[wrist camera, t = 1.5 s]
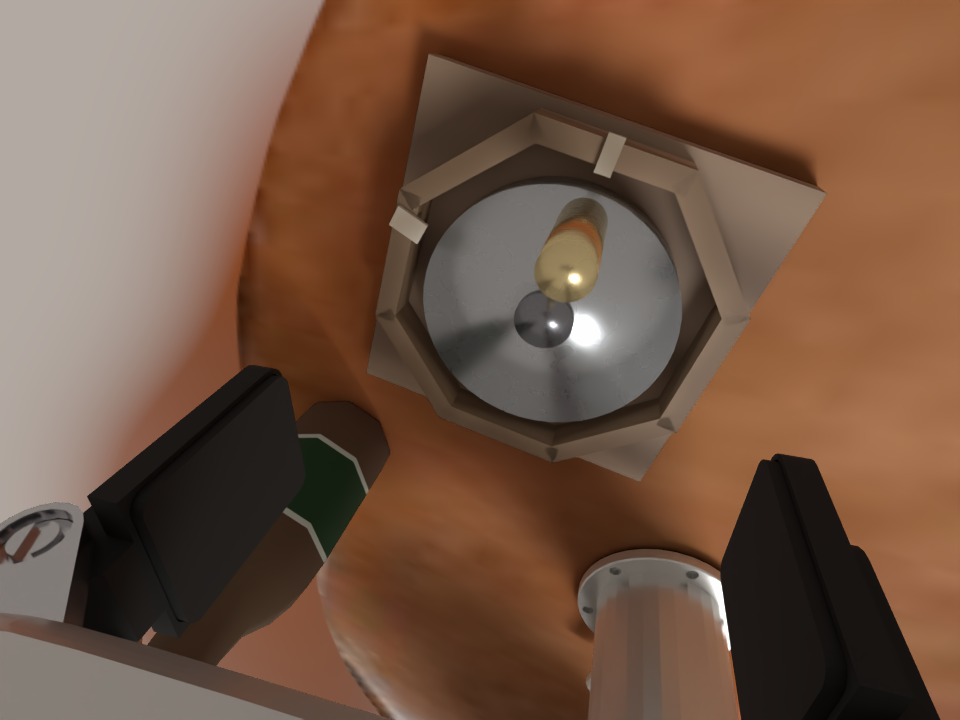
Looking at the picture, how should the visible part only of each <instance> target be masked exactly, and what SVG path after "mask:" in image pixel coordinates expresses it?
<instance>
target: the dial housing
mask: <svg viewBox="0 0 960 720" xmlns="http://www.w3.org/2000/svg"><path fill="white" fill-rule="evenodd" d="M543 176H562V177H569V178H576V179H582V180H585V181H589V182H592V183H596V184H599V185H601V186H603V187H605V188H608V189H610V190H612V191H614V192H616V193H618V194H619V195H621V196H622V197H624V198H626V199H627V200H629V201H630V202H632V203H633V204H634V205H635V206H636V207H638V208H639V209H640V210H641V211H642V212H644V214H645V215H646V216H647V217H648V218H649V219H650V220H651V221H652V222H653V223H654V225H655V226H656V227H657V229H658V230H659V232H660V233H661V235H662V236H663V238H664V239H665V241H666V243H667V245H668V247H669V249H670V251H671V254H672V256H673V259H674V262H675V266H676V269H677V273H678V280H679V286H680V293H681V299H682V320H681V327H680V333H679V337H678V340H677V343H676V346H675V349H674V352H673V354H672V356H671V358H670V360H669V362H668V364H667V365H666V367H665V368H664V370H663V371H662V373H661V374H660V375H659V377H658V378H657V379H656V380H655V381H654V382H653V383H652V385H651V386H650V387H649V388H648V389H647V390H645V391H644V392H643V393H642V394H641V395H639V396H638V397H637V398H636V399H634V400H633V401H631V402H629V403H628V404H626V405H625V406H623V407H621V408H619V409H617V410H615V411H612V412H610V413H608V414H605V415H602V416H599V417H596V418H591V419H587V420H582V421H573V422H545V421H537V420H532V419H527V418H523V417H519V416H516V415H513V414H510V413H507V412H505V411H503V410H501V409H498V408H496V407H494V406H492V405H490V404H489V403H487V402H485V401H484V400H482V399H480V398H479V397H478V396H476V395H475V394H474V393H472V392H471V391H470V390H468V389H467V388H466V387H465V386H464V385H463V384H462V383H461V382H460V381H459V380H458V379H457V378H456V377H455V376H454V375H453V374H452V372H451V371H450V370H449V369H448V368H447V366H446V365H445V363H444V362H443V360H442V359H441V357H440V356H439V354H438V352H437V350H436V348H435V346H434V344H433V342H432V339H431V336H430V334H429V331H428V327H427V323H426V319H425V313H424V304H423V294H424V282H425V276H426V271H427V268H428V265H429V262H430V258H431V256H432V254H433V252H434V250H435V248H436V246H437V244H438V242H439V241H440V239H441V238H442V236H443V235H444V233H445V232H446V230H447V229H448V228H449V227H450V226H451V225H452V224H453V223H454V222H455V221H456V219H457V218H458V217H459V216H461V215H462V214H463V213H464V212H465V211H466V210H467V209H468V208H469V207H471V206H472V205H473V204H474V203H476V202H477V201H478V200H479V199H480V198H482V197H484V196H485V195H487V194H489V193H490V192H492V191H494V190H495V189H498V188H500V187H502V186H505V185H507V184H509V183H513V182H516V181H520V180H524V179H528V178H536V177H543ZM826 194H827V193H826V192H824V191H823V190H822V189H821V188H819V187H818V186H815V185H812V184H810V183H807V182H804V181H801V180H798V179H795V178H792V177H790V176H787V175H784V174H781V173H778V172H775V171H772V170H770V169H767V168H764V167H761V166H758V165H755V164H752V163H749V162H747V161H744V160H741V159H738V158H735V157H732V156H729V155H727V154H724V153H721V152H718V151H715V150H712V149H709V148H707V147H704V146H701V145H698V144H695V143H692V142H689V141H687V140H684V139H681V138H678V137H675V136H672V135H669V134H667V133H664V132H661V131H658V130H655V129H652V128H649V127H647V126H644V125H641V124H638V123H635V122H632V121H629V120H627V119H624V118H621V117H618V116H615V115H612V114H609V113H606V112H604V111H601V110H598V109H595V108H592V107H589V106H586V105H584V104H581V103H578V102H575V101H572V100H569V99H566V98H564V97H561V96H558V95H555V94H552V93H549V92H546V91H544V90H541V89H538V88H535V87H532V86H529V85H526V84H524V83H521V82H518V81H515V80H512V79H509V78H506V77H504V76H501V75H498V74H495V73H492V72H489V71H486V70H484V69H481V68H478V67H475V66H472V65H469V64H466V63H463V62H461V61H458V60H455V59H452V58H449V57H446V56H443V55H441V54H428V59H427V65H426V70H425V75H424V80H423V85H422V90H421V95H420V100H419V106H418V111H417V116H416V121H415V126H414V131H413V136H412V141H411V147H410V152H409V157H408V162H407V167H406V172H405V177H404V182H403V187H402V188H400V189H399V194H398V199H397V204H396V210H395V213H394V215H393V217H392V219H391V221H390V223H389V225H390V226H391V227H392V230H391V236H390V241H389V246H388V251H387V256H386V262H385V267H384V272H383V277H382V282H381V288H380V293H379V298H378V303H377V308H376V314H375V316H376V318H377V321H376V326H375V331H374V336H373V341H372V346H371V351H370V356H369V362H368V367H367V372H366V373H368V374H370V375H373V376H375V377H378V378H380V379H383V380H385V381H388V382H390V383H393V384H395V385H398V386H400V387H403V388H405V389H408V390H410V391H413V392H415V393H418V394H420V395H423V396H425V397H427V398H428V400H429V402H430V403H431V405H432V406H433V408H434V410H435V411H436V413H437V414H438V416H439V418H442V419H444V420H447V421H449V422H452V423H454V424H457V425H459V426H462V427H464V428H467V429H469V430H472V431H474V432H477V433H479V434H482V435H484V436H487V437H489V438H492V439H494V440H497V441H499V442H502V443H504V444H507V445H509V446H512V447H514V448H517V449H519V450H522V451H524V452H527V453H529V454H532V455H534V456H537V457H539V458H542V459H544V460H547V461H549V462H552V463H554V462H558V461H562V460H566V459H570V458H574V457H578V458H581V459H583V460H586V461H588V462H591V463H593V464H596V465H598V466H601V467H603V468H606V469H608V470H611V471H613V472H616V473H618V474H621V475H623V476H626V477H628V478H631V479H633V480H636V481H638V482H640V481H641V479H642V478H643V476H644V475H645V473H646V472H647V470H648V469H649V467H650V466H651V464H652V462H653V461H654V459H655V458H656V456H657V455H658V453H659V452H660V450H661V449H662V447H663V446H664V444H665V442H666V441H667V439H668V438H669V436H670V435H671V434H673V433H676V432H677V431H678V429H679V428H680V426H681V425H682V423H683V421H684V420H685V418H686V417H687V415H688V414H689V412H690V411H691V409H692V408H693V406H694V405H695V403H696V402H697V400H698V399H699V397H700V396H701V394H702V392H703V391H704V389H705V388H706V386H707V385H708V383H709V382H710V380H711V379H712V377H713V376H714V374H715V373H716V371H717V370H718V368H719V366H720V365H721V363H722V362H723V360H724V359H725V357H726V356H727V354H728V353H729V351H730V350H731V348H732V347H733V345H734V344H735V342H736V341H737V339H738V337H739V336H740V334H741V333H742V331H743V330H744V328H745V327H746V325H747V324H748V322H749V321H750V316H749V313H750V311H751V310H752V308H753V307H754V305H755V304H756V302H757V301H758V299H759V297H760V296H761V294H762V293H763V291H764V290H765V288H766V287H767V285H768V284H769V282H770V281H771V279H772V277H773V276H774V274H775V273H776V271H777V270H778V268H779V267H780V265H781V264H782V262H783V260H784V259H785V257H786V256H787V254H788V253H789V251H790V250H791V248H792V247H793V245H794V244H795V242H796V240H797V239H798V237H799V236H800V234H801V233H802V231H803V230H804V228H805V227H806V225H807V223H808V222H809V220H810V219H811V217H812V216H813V214H814V213H815V211H816V210H817V208H818V207H819V205H820V203H821V202H822V200H823V199H824V197H825V196H826Z"/></svg>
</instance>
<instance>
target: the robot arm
mask: <svg viewBox="0 0 960 720" xmlns="http://www.w3.org/2000/svg"><path fill="white" fill-rule="evenodd" d="M304 480H305V467H304V462H303V457H302V452H301V447H300V442H299V437H298V432H297V427H296V422H295V417H294V412H293V406H292V401H291V396H290V391H289V386H288V382H287V380H286V379H285V378H284V377H282V375H281V373H280V372H279V370H277V369H273V368H267V367H262V366H256V365H249V366H247V367H246V368H244V369H243V370H242V371H241V372H239V373H238V374H237V375H236V376H234V377H233V378H232V379H231V380H229V381H228V382H227V383H226V384H225V385H223V386H222V387H221V388H220V389H218V390H217V391H216V392H215V393H214V394H212V395H211V396H210V397H209V398H208V399H206V400H205V401H204V402H202V403H201V404H200V405H199V406H198V407H196V408H195V409H194V410H193V411H191V412H190V413H189V414H188V415H186V416H185V417H184V418H183V419H182V420H180V421H179V422H178V423H177V424H176V425H174V426H173V427H172V428H171V429H169V430H168V431H167V432H166V433H164V434H163V435H162V436H161V437H159V438H158V439H157V440H156V441H155V442H153V443H152V444H151V445H150V446H148V447H147V448H146V449H145V450H144V451H142V452H141V453H140V454H139V455H137V456H136V457H135V458H134V459H133V460H131V461H130V462H129V463H128V464H126V465H125V466H124V467H123V468H122V469H120V470H119V471H118V472H116V473H115V474H114V475H113V476H112V477H110V478H109V479H108V480H107V481H105V482H104V483H103V484H102V485H101V486H99V487H98V488H97V489H96V490H94V491H93V492H92V493H91V494H89V495H88V496H87V497H88V499H89V501H90V503H91V505H92V506H91V507H90V508H89V509H88V510H86V511H85V512H84V513H83V512H82V511H81V510H80V508H79V507H78V506H75V505H73V504H70V503H56V502H55V503H49V504H44V505H39V506H36V507H33V508H30V509H27V510H24V511H22V512H20V513H18V514H16V515H14V516H12V517H10V518H8V519H7V520H5V521H4V522H2V523H1V524H0V720H392V719H389V718H385V717H382V716H379V715H376V714H372V713H369V712H365V711H363V710H359V709H356V708H353V707H349V706H346V705H343V704H340V703H336V702H333V701H330V700H326V699H323V698H320V697H317V696H313V695H310V694H307V693H303V692H300V691H297V690H293V689H290V688H287V687H284V686H281V685H277V684H274V683H271V682H268V681H264V680H261V679H258V678H254V677H251V676H247V675H244V674H241V673H238V672H234V671H231V670H227V669H224V668H221V667H217V666H214V665H211V664H208V663H204V662H201V661H198V660H194V659H191V658H188V657H184V656H181V655H178V654H174V653H171V652H168V651H164V650H161V649H158V648H154V647H151V646H148V645H144V644H142V637H143V635H144V634H145V633H146V632H147V631H148V629H149V628H150V627H151V626H152V628H153V631H155V632H158V633H161V634H164V635H168V636H171V637H175V638H178V639H179V638H180V636H181V635H182V634H183V632H184V631H185V630H186V629H187V627H188V626H189V625H190V623H194V622H197V621H198V620H200V619H201V618H202V616H203V615H204V614H205V613H206V612H207V610H208V609H209V608H210V606H211V605H212V604H213V602H214V601H215V600H216V599H217V597H218V596H219V595H220V593H221V592H222V591H223V589H224V588H225V587H226V586H227V584H228V583H229V582H230V580H231V579H232V578H233V576H234V575H235V574H236V572H237V571H238V570H239V569H240V567H241V566H242V565H243V563H244V562H245V561H246V559H247V558H248V557H249V556H250V554H251V553H252V552H253V550H254V549H255V548H256V546H257V545H258V544H259V543H260V541H261V540H262V539H263V537H264V536H265V535H266V533H267V532H268V531H269V529H270V528H271V527H272V526H273V524H274V523H275V522H276V520H277V519H278V518H279V516H280V515H281V514H282V513H283V511H284V510H285V509H286V507H287V506H288V505H289V503H290V502H291V501H292V500H293V498H294V497H295V496H296V494H297V493H298V492H299V490H300V489H301V487H302V486H303V483H304ZM578 608H579V611H580V615H581V617H582V618H583V620H584V622H585V624H586V625H587V626H588V627H589V628H590V630H591V631H592V632H593V633H594V634H595V636H594V648H593V661H592V670H591V672H590V673H589V674H588V675H587V677H586V685H587V688H588V689H589V691H590V699H589V711H588V720H739V718H738V712H737V705H736V698H735V691H734V684H733V678H732V671H731V664H730V657H729V650H730V649H731V653H732V660H733V667H734V674H735V680H736V687H737V694H738V700H739V707H740V714H741V720H940V718H939V716H938V714H937V711H936V709H935V707H934V705H933V702H932V700H931V698H930V696H929V693H928V691H927V689H926V687H925V684H924V682H923V680H922V678H921V675H920V673H919V671H918V669H917V666H916V664H915V662H914V660H913V657H912V655H911V653H910V651H909V648H908V646H907V644H906V642H905V639H904V637H903V635H902V633H901V630H900V628H899V626H898V624H897V621H896V619H895V617H894V615H893V612H892V610H891V608H890V606H889V603H888V601H887V599H886V597H885V594H884V592H883V590H882V588H881V585H880V583H879V581H878V579H877V576H876V574H875V572H874V570H873V567H872V565H871V563H870V561H869V559H868V557H867V555H866V554H865V552H864V551H863V550H862V549H861V548H859V547H858V546H854V545H850V543H849V540H848V538H847V535H846V533H845V531H844V528H843V526H842V524H841V521H840V519H839V516H838V514H837V512H836V509H835V507H834V505H833V502H832V500H831V497H830V495H829V493H828V490H827V488H826V485H825V483H824V481H823V478H822V476H821V474H820V471H819V469H818V466H817V464H816V463H815V461H814V460H812V459H807V458H801V457H795V456H789V455H784V454H775V455H774V456H773V457H772V459H771V461H770V460H761V462H760V463H759V465H758V468H757V470H756V473H755V476H754V478H753V481H752V483H751V486H750V489H749V491H748V494H747V496H746V499H745V502H744V504H743V507H742V510H741V512H740V515H739V517H738V520H737V523H736V525H735V528H734V530H733V533H732V536H731V538H730V541H729V543H728V546H727V549H726V551H725V554H724V557H723V559H722V563H721V571H718V570H717V569H715V568H713V567H712V566H710V565H709V564H707V563H705V562H702V561H700V560H698V559H696V558H693V557H691V556H687V555H684V554H681V553H677V552H672V551H666V550H660V549H636V550H627V551H623V552H619V553H615V554H612V555H609V556H607V557H605V558H603V559H600V560H599V561H598V562H596V563H595V564H593V565H592V566H591V567H590V568H589V569H588V570H587V571H586V572H585V574H584V575H583V577H582V579H581V581H580V585H579V591H578Z"/></svg>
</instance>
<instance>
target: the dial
mask: <svg viewBox="0 0 960 720" xmlns="http://www.w3.org/2000/svg"><path fill="white" fill-rule="evenodd" d="M423 304H424V313H425V319H426V323H427V327H428V331H429V334H430V336H431V339H432V342H433V344H434V346H435V348H436V350H437V352H438V354H439V356H440V357H441V359H442V360H443V362H444V363H445V365H446V366H447V368H448V369H449V370H450V371H451V372H452V374H453V375H454V376H455V377H456V378H457V379H458V380H459V381H460V382H461V383H462V384H463V385H464V386H465V387H466V388H467V389H468V390H470V391H471V392H472V393H474V394H475V395H476V396H478V397H479V398H480V399H482V400H484V401H485V402H487V403H489V404H490V405H492V406H494V407H496V408H498V409H501V410H503V411H505V412H507V413H510V414H513V415H516V416H519V417H523V418H527V419H532V420H537V421H545V422H573V421H582V420H587V419H591V418H596V417H599V416H602V415H605V414H608V413H610V412H612V411H615V410H617V409H619V408H621V407H623V406H625V405H626V404H628V403H629V402H631V401H633V400H634V399H636V398H637V397H638V396H639V395H641V394H642V393H643V392H644V391H645V390H647V389H648V388H649V387H650V386H651V385H652V383H653V382H654V381H655V380H656V379H657V378H658V377H659V375H660V374H661V373H662V371H663V370H664V368H665V367H666V365H667V364H668V362H669V360H670V358H671V356H672V354H673V352H674V349H675V346H676V343H677V340H678V337H679V333H680V327H681V320H682V299H681V293H680V286H679V280H678V273H677V269H676V266H675V262H674V259H673V256H672V254H671V251H670V249H669V247H668V245H667V243H666V241H665V239H664V238H663V236H662V235H661V233H660V232H659V230H658V229H657V227H656V226H655V225H654V223H653V222H652V221H651V220H650V219H649V218H648V217H647V216H646V215H645V214H644V212H642V211H641V210H640V209H639V208H638V207H636V206H635V205H634V204H633V203H632V202H630V201H629V200H627V199H626V198H624V197H622V196H621V195H619V194H618V193H616V192H614V191H612V190H610V189H608V188H605V187H603V186H601V185H599V184H596V183H592V182H589V181H585V180H582V179H576V178H569V177H562V176H543V177H536V178H528V179H524V180H520V181H516V182H513V183H509V184H507V185H505V186H502V187H500V188H498V189H495V190H494V191H492V192H490V193H489V194H487V195H485V196H484V197H482V198H480V199H479V200H478V201H477V202H476V203H474V204H473V205H472V206H471V207H469V208H468V209H467V210H466V211H465V212H464V213H463V214H462V215H461V216H459V217H458V218H457V219H456V221H455V222H454V223H453V224H452V225H451V226H450V227H449V228H448V229H447V230H446V232H445V233H444V235H443V236H442V238H441V239H440V241H439V242H438V244H437V246H436V248H435V250H434V252H433V254H432V256H431V258H430V262H429V265H428V268H427V271H426V276H425V282H424V294H423Z"/></svg>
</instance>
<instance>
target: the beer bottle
mask: <svg viewBox="0 0 960 720" xmlns="http://www.w3.org/2000/svg"><path fill="white" fill-rule="evenodd" d="M296 427H297V432H298V437H299V442H300V447H301V452H302V457H303V462H304V467H305V480H304V483H303V486H302V487H301V489H300V490H299V492H298V493H297V494H296V496H295V497H294V498H293V500H292V501H291V502H290V503H289V505H288V506H287V507H286V509H285V510H284V511H283V513H282V514H281V515H280V516H279V518H278V519H277V520H276V522H275V523H274V524H273V526H272V527H271V528H270V529H269V531H268V532H267V533H266V535H265V536H264V537H263V539H262V540H261V541H260V543H259V544H258V545H257V546H256V548H255V549H254V550H253V552H252V553H251V554H250V556H249V557H248V558H247V559H246V561H245V562H244V563H243V565H242V566H241V567H240V569H239V570H238V571H237V572H236V574H235V575H234V576H233V578H232V579H231V580H230V582H229V583H228V584H227V586H226V587H225V588H224V589H223V591H222V592H221V593H220V595H219V596H218V597H217V599H216V600H215V601H214V602H213V604H212V605H211V606H210V608H209V609H208V610H207V612H206V613H205V614H204V615H203V616H202V618H201V619H200V620H198V621H197V622H194V623H190V625H189V626H188V627H187V629H186V630H185V631H184V632H183V634H182V635H181V636H180V638H179V639H178V638H175V637H171V636H168V635H164V634H161V633H158V632H157V633H156V634H155V635H154V637H153V638H152V639H151V641H150V642H149V643H148V646H151V647H154V648H158V649H161V650H164V651H168V652H171V653H174V654H178V655H181V656H184V657H188V658H191V659H194V660H198V661H201V662H204V663H208V664H211V665H214V666H216V665H217V664H218V663H219V661H220V660H221V659H222V658H223V657H224V656H225V655H226V654H227V653H228V652H229V651H230V649H231V648H232V647H233V646H234V645H235V644H236V643H237V642H238V641H239V640H240V639H241V637H243V636H245V635H247V634H250V633H252V632H254V631H256V630H258V629H260V628H262V627H264V626H266V625H269V624H270V623H271V622H273V621H274V620H275V619H276V618H278V617H279V616H280V615H281V614H282V613H283V612H285V611H286V610H287V609H288V608H290V607H291V606H292V604H293V603H294V602H295V601H296V600H297V598H298V597H299V596H300V595H301V594H302V592H303V591H304V590H305V589H306V588H307V586H308V585H309V583H310V582H311V581H312V579H313V578H314V577H315V575H316V574H317V572H318V571H319V570H320V568H321V567H322V566H323V564H324V563H325V561H326V559H327V558H328V556H329V555H330V553H331V551H332V550H333V548H334V546H335V545H336V543H337V542H338V540H339V538H340V537H341V535H342V533H343V532H344V530H345V529H346V527H347V525H348V524H349V522H350V520H351V519H352V517H353V516H354V514H355V512H356V511H357V509H358V507H359V506H360V504H361V503H362V501H363V499H364V498H365V496H366V494H367V493H368V491H369V490H370V488H371V486H372V485H373V483H374V481H375V480H376V478H377V477H378V475H379V473H380V472H381V470H382V468H383V466H384V464H385V462H386V461H387V459H388V457H389V455H390V450H389V447H388V444H387V441H386V439H385V436H384V433H383V430H382V427H381V424H380V422H379V421H378V420H376V419H375V418H373V417H372V416H370V415H369V414H367V413H366V412H365V411H363V410H362V409H360V408H359V407H357V406H356V405H354V404H353V403H351V402H350V401H349V402H319V403H315V404H314V405H313V406H312V407H311V408H310V409H309V410H308V411H307V412H305V413H304V414H303V415H302V416H301V417H300V418H299V420H298V421H297V422H296Z"/></svg>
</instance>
